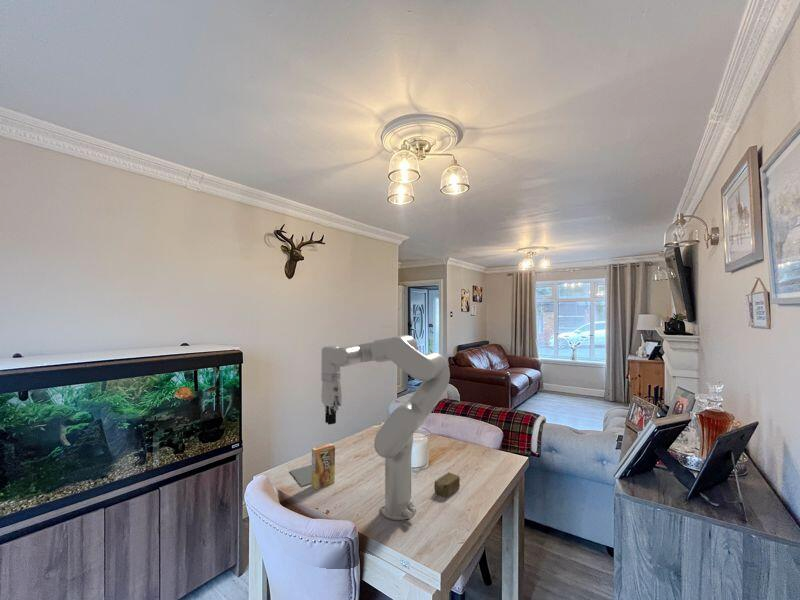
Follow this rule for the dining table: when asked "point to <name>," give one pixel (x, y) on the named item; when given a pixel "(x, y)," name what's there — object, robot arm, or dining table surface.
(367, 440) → the dining table surface
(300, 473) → the mat
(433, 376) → the robot arm
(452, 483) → the stone block
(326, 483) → the candy box
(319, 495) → the dining table surface
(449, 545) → the dining table surface
